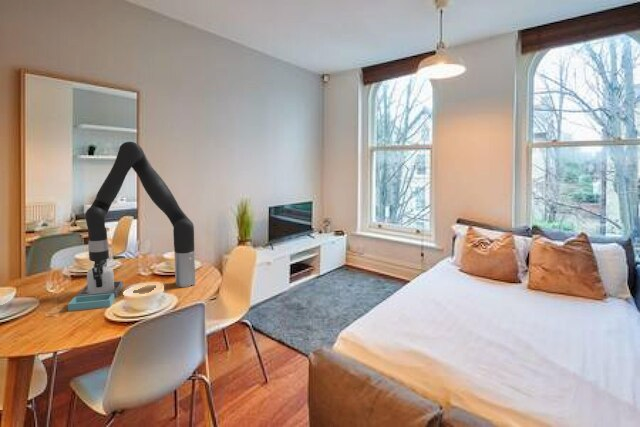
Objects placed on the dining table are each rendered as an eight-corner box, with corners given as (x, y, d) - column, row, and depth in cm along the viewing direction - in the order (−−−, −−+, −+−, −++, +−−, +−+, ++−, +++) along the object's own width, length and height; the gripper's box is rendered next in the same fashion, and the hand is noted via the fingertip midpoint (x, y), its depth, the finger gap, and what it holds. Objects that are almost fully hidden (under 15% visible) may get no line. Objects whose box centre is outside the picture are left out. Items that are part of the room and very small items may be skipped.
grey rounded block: (114, 289, 157) (112, 264, 155) (114, 292, 153) (113, 266, 152) (88, 293, 151) (86, 267, 149) (87, 296, 148) (85, 270, 146)
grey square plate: (123, 285, 162) (123, 280, 161) (116, 297, 148) (115, 292, 148) (87, 288, 157) (87, 283, 156) (77, 300, 143) (76, 295, 143)
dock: (114, 299, 145) (114, 293, 145) (110, 306, 138) (109, 300, 138) (75, 303, 140) (74, 296, 140) (68, 311, 133) (68, 304, 133)
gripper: (104, 252, 144) (106, 289, 146) (112, 245, 157) (114, 279, 160) (83, 253, 141) (86, 291, 144) (93, 245, 155) (96, 280, 157)
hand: (101, 284), depth 152 cm, fingers closed on grey rounded block, 5 cm apart
